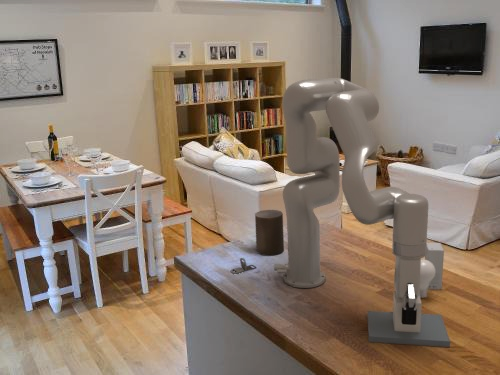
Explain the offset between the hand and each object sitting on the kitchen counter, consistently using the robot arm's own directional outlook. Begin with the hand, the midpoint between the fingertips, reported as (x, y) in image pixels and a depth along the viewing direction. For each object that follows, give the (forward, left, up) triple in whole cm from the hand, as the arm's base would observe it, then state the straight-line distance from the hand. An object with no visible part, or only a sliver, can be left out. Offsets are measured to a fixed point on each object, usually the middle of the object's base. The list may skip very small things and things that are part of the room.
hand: (406, 313), depth 120 cm
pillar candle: (-41, +48, -5) cm, 63 cm away
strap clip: (-47, +31, -5) cm, 57 cm away
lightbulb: (+6, +18, -5) cm, 20 cm away
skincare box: (+10, +26, -5) cm, 28 cm away
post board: (0, 0, -5) cm, 5 cm away
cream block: (0, 0, -3) cm, 3 cm away
